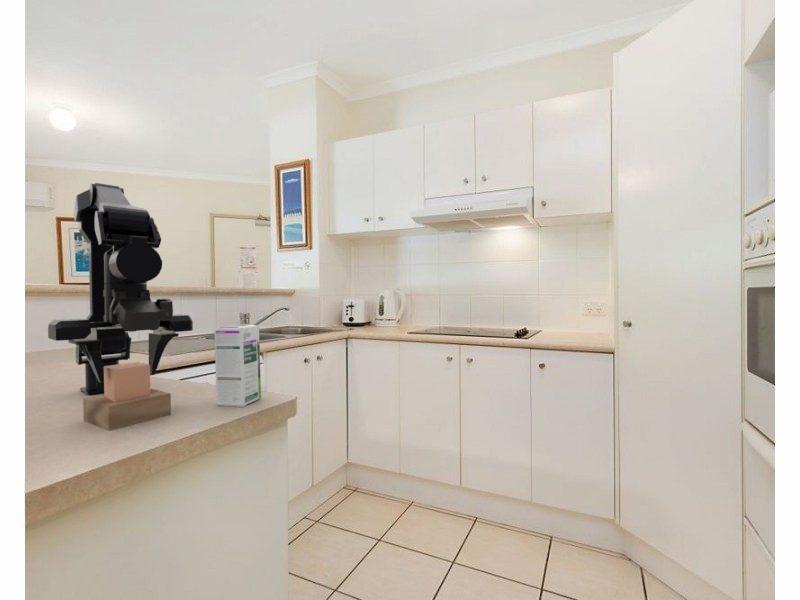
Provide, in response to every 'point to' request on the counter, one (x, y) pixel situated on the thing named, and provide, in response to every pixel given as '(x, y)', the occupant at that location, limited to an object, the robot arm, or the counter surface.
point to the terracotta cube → (126, 381)
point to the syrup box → (237, 365)
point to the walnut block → (126, 410)
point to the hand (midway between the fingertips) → (127, 378)
